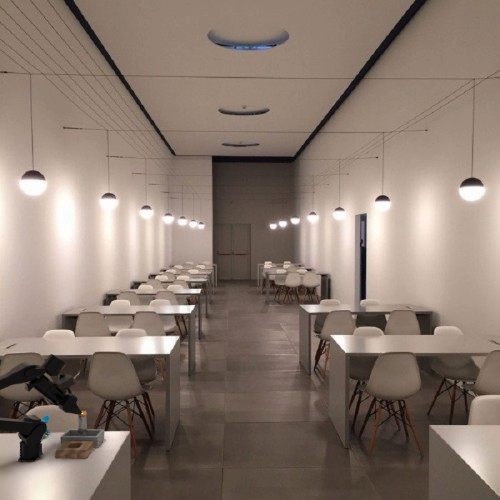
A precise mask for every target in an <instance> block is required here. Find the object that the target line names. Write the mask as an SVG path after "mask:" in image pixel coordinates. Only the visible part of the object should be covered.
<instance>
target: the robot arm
mask: <svg viewBox="0 0 500 500" xmlns="http://www.w3.org/2000/svg"><path fill="white" fill-rule="evenodd" d="M66 365H67V363H66V362H65V361H64V360H62V359H60V358H59V357H57V356H56V355H54V354H53V353H50V354H49V356H47V358H46V360H44V362H43V363H42V364H41V365H40V364H31V363H29V362H26V361H25V362H20V363H19V364H17V365H16V366H14V367H13V368H11V369H10V370H9V371H8V372H6V373H4V374H3V375H0V391H1V390H3V389H6V388H9V387H11V386H14V385H22V384H24V390H25V391H27V392H30V391H32V389H34V390H35V391H36V392H37V393H39V395H40V396H42V397H43V400H44V401H46V402H47V403H49V404H51V405H52V406H56V407H58V409H59V410H61V411H62V412H64V413H66V414H73V415H77V416H78V415H81V414H82V412H81V411H82V410H81V409H80V408H79V406H78V404H77V402H78V399H79V397H78V396H76V395H75V394H73V393H70V392H69V393H67V392H68V389H69V388H71V387H72V386H75V385H76V383H77V382H76V380H75V379H74V376H73V374H69V373H68V374H67V373H66V374H63V373H60V372H62V370H63V369H64V368H65V366H66ZM46 375H47V376H46ZM56 377H57V380H56V382H55V381H54V380H52V379H51V378H56ZM66 393H67V394H66ZM41 419H42V418H40V417H38V416H37V415H35V414H32V415H29V414H26V413H25V414H24V415H23V417H22V418H19V419H17V418H7V417H6V418H5V417H0V432H9V433H10V432H11V433H17V436H18V438H19V440H20V442H19V458H18V459H17V462H36V461H38V460H39V459H40V458H41V457H42V456H43V455H44V453H43V443H41V442H42V441H43V438H44V436H43V435H44V434H45V435H46V430H48V426H47V423H45V422H43V421H42V420H41Z"/></svg>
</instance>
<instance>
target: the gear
mask: <svg viewBox="0 0 500 500" xmlns="http://www.w3.org/2000/svg"><path fill="white" fill-rule="evenodd" d="M50 418H51V416H50V415H49V414H46V415H44V416H43V417H42V418H40V419H41V420H42V421H43V422H45V423H46V424H48V423H49V421H50ZM47 433H50V434H51V432H50V430H48V429H47V430H46V432H45V434H44V435H43V438H46V437H48V438H49V436H48V435H46V434H47Z"/></svg>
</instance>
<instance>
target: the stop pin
mask: <svg viewBox="0 0 500 500" xmlns="http://www.w3.org/2000/svg"><path fill="white" fill-rule="evenodd" d="M81 412H82V414H81V415H77V428H78V436H87V429H88V428H87V427H88V426H87V415H88V413H87V411H86V410H81Z"/></svg>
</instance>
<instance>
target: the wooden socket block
mask: <svg viewBox="0 0 500 500" xmlns="http://www.w3.org/2000/svg"><path fill="white" fill-rule="evenodd" d="M94 450H95V448H94V441H64V442H63V443H62V444H61V443H60V445H59V446H57V448H56V449H55V452H54V453H55V456H54V457H55V459H88V457H89V455H91V454H92V452H93V451H94Z"/></svg>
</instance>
